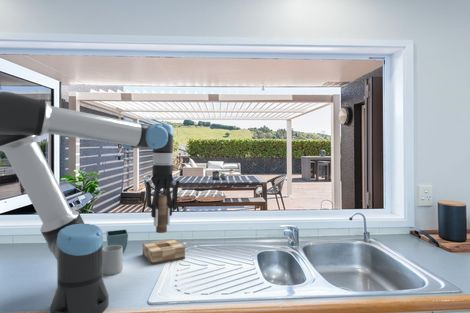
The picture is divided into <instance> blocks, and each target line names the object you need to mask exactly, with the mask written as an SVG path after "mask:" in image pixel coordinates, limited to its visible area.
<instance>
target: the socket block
mask: <svg viewBox="0 0 470 313" xmlns="http://www.w3.org/2000/svg"><path fill="white" fill-rule="evenodd" d="M143 255H144V256H145V257H144V256H143ZM142 256H143V257H144V258H145V259H146V260H147V261H148V262H149V263H150V264H151V265H152V266H153V265H159V264H164V263H169V262H168V261H170V262H175V261H179V260H180V261H181V260H185V259H186V246H184V245H183V244H181V243H180V242H178V241H177V240H176V239H174V238H170V239H164V240H156V241H149V242H143V243H142Z"/></svg>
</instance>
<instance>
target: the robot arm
mask: <svg viewBox="0 0 470 313" xmlns="http://www.w3.org/2000/svg"><path fill="white" fill-rule="evenodd" d="M46 134H49V135H57V136H61V137H62V136H63V137H71V138H76V139H83V140H91V141H96V142H97V141H98V142H105V143H111V144H119V145H121V147H122V148H125V149H131V150H132V149H152V163H153V164H152V176H151V178H150V179H149V180H145V181H144V183H143V184H144V186H145V194H146V195H145V196H146V198H145V200H146V207H147V208H149V209H150V210H151V212H150V213H151V214H150V215H151V218H153V226H154V227H156V226H158V209H157V201H158V196H159V195H160V192H161V190H162V189H163V190H164V195H167V226H170V224H171V223H170V222H171V221H170V220H171V219H170V218H171V216H172V215H173V208H174V207H175V206H177V204H178V191H179V190H178V189H179V184H180V180H177V179H174V177H173V165H172V164H173V160H174V159H173V157H174V156H173V155H174V154H173V153H174V152H173V151H174V150H173V149H174V128H173V126H172V124H169V123H155V124H153V125H151V124H145V123H139V122H134V121H130V120H129V121H128V120H125V119H119V118H115V117H109V116H104V115H98V114H93V113H89V112H84V111H78V110H73V109H69V108H63V107H57V106H54V105H50V103H49V102H48V101H47V100H42V99H38V98H35V97H34V98H33V97H31V96H27V95H26V96H25V95H22V94H18V93H14V92H11V91H0V151H1V152H3V153H4V154H5V155H4V156H6V159H7V161H8V162H9V164H10V165H11V167H12V169H13V171H14V173H15V175H16V177H17V178H18V181H19V182H20V184H21V186H22V187H23V189H24V192H26V195H27V196H28V199H29V200H30V202H31V204H32V205H33V207H34V210H35V211H36V213H37V215H38V218H40V221H41V222H42V224H41V227H40V229H39V231H40V232H41V234H42V236H43V238H44V240H45V241H46V244H47V247H48V249H49V250H50V252H51V253H52V255H53V256H54V257H55V259H56V264H57V265H56V266H57V269H56V270H57V273H56V274H57V276H56V277H57V283H56V284H57V286H56V289H55V291H54V295H53V297H52V300H51V304H50V307H49V310H50V311H49V313H103V312H104V311H106V309H107V308H108V307H109V301H110V300H109V293H108V290H107V288H106V285H105V283H104V279H103V273H102V249H103V243H104V237H103V232H102V228H101V227H99V226H97V225H96V224H90V223H85V221H84V219H83V217H82V216H81V213H80V212H79V211H77V210H73V209H72V208H71V206H70V204H69V202H68V200H67V198H66V196H65V194H64V192H63V190H62V188H61V186H60V184H59V182H58V181H57V178H56V176H55V175H54V172H53V171H52V168H51V166H50V165H49V162H48V161H47V159H46V157H45V155H44V153H43V151H42V149H41V147H40V145H39V143H38V142H37V141H38V138H39V137H41V136H43V135H46ZM171 184H172V191H171ZM152 185H154V188H153V190H154V192H153V196H152Z"/></svg>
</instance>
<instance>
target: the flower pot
mask: <svg viewBox="0 0 470 313" xmlns="http://www.w3.org/2000/svg"><path fill="white" fill-rule="evenodd" d="M105 235H106V242H107V246H112V245H119V246H122V247H123V253H124V252H126V249H127V246H128V240H129V232H128V230H127V229H118V230H108V231H106V232H105Z"/></svg>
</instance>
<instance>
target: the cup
mask: <svg viewBox="0 0 470 313" xmlns="http://www.w3.org/2000/svg"><path fill="white" fill-rule="evenodd" d="M123 255H124V254H123V247H122V246H119V245H112V246H108V245H107V246H104V247H102V275H105V276H114V275H117V274H120V273H121V272H123V269H124V268H123V265H124V264H123V262H124V260H123V259H124V258H123Z"/></svg>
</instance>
